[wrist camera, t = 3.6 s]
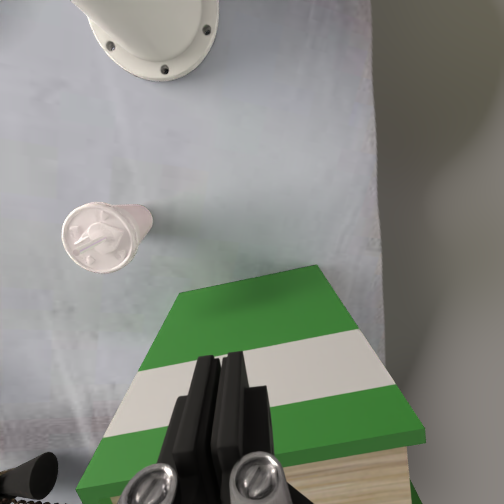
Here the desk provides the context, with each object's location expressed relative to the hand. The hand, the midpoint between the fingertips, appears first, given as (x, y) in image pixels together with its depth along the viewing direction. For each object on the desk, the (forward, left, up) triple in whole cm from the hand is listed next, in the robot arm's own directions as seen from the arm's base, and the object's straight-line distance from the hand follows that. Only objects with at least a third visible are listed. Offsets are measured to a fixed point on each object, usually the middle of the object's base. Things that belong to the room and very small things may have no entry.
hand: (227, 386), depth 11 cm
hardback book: (+10, 0, -26) cm, 28 cm away
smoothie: (-3, -12, -26) cm, 29 cm away
